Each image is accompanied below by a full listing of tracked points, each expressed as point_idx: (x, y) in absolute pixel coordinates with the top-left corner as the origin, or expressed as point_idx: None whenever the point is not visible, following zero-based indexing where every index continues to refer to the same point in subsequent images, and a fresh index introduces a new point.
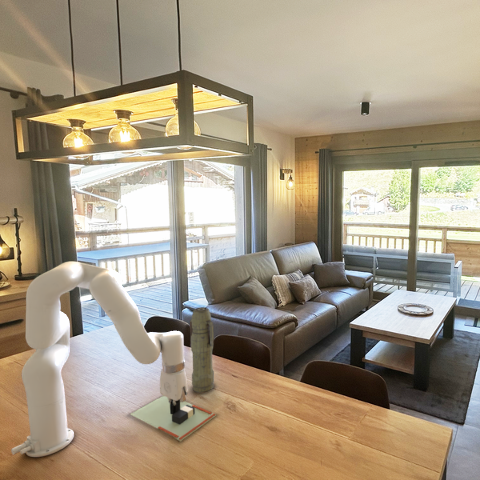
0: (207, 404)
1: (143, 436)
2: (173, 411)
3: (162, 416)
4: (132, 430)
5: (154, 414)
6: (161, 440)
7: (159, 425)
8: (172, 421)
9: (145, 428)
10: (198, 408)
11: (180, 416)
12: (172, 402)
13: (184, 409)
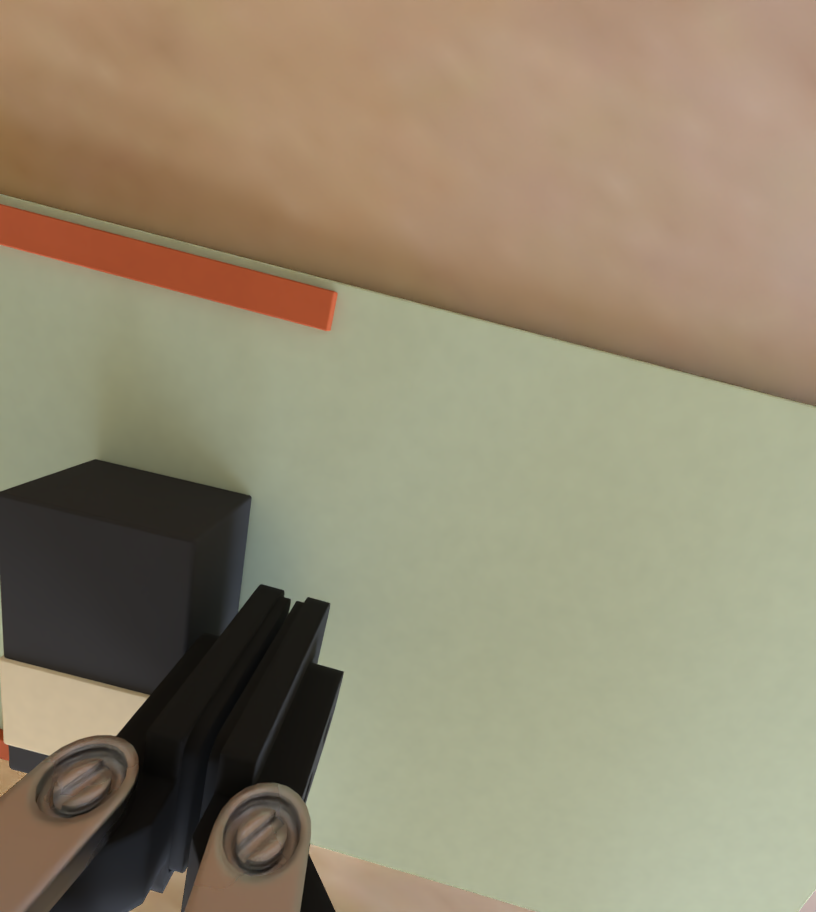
0: None
1: (446, 43)
2: (231, 630)
3: (471, 559)
4: (772, 120)
5: (632, 574)
6: (86, 68)
7: (362, 362)
8: (242, 494)
9: (560, 251)
10: None
11: (20, 540)
12: (204, 825)
13: (104, 708)
